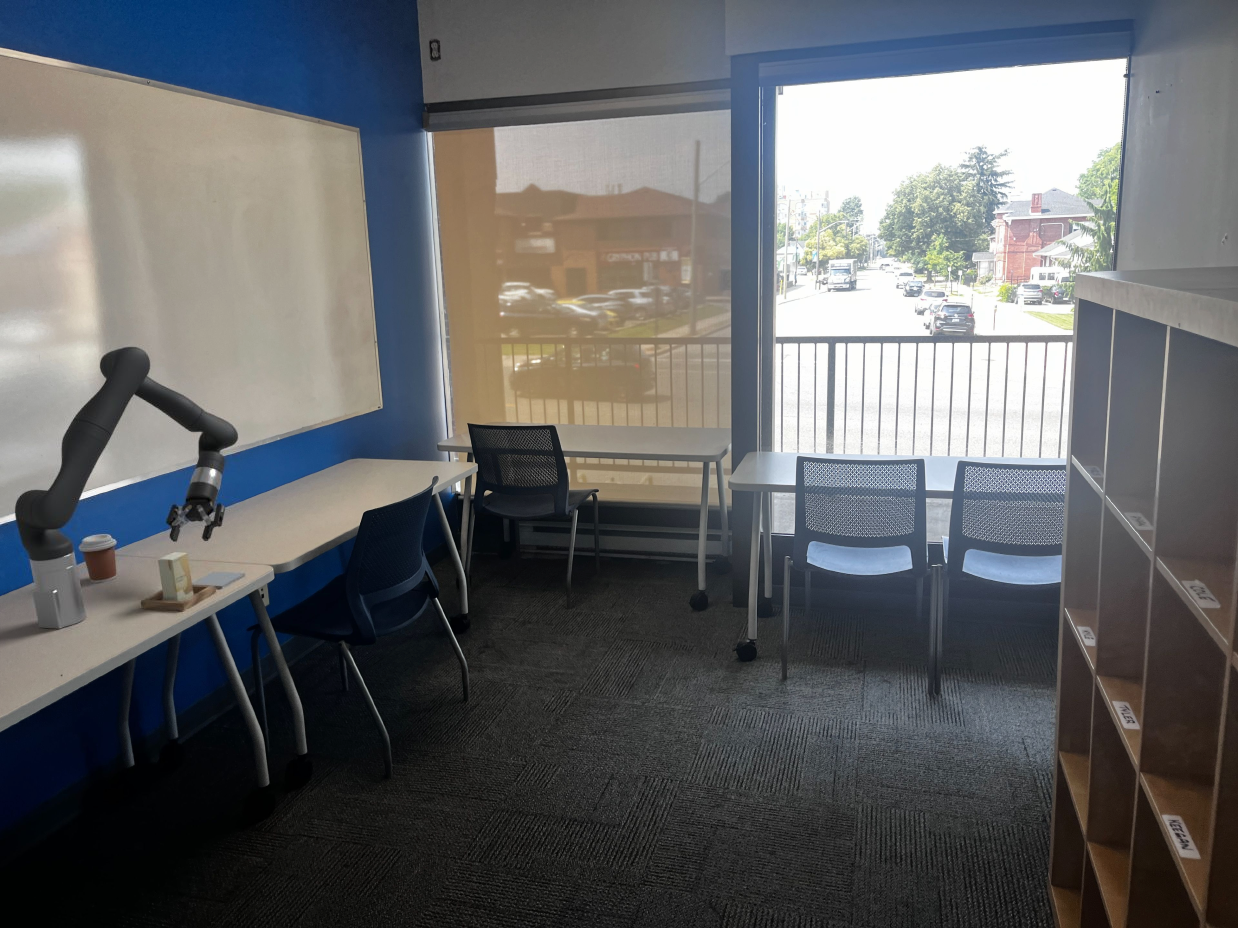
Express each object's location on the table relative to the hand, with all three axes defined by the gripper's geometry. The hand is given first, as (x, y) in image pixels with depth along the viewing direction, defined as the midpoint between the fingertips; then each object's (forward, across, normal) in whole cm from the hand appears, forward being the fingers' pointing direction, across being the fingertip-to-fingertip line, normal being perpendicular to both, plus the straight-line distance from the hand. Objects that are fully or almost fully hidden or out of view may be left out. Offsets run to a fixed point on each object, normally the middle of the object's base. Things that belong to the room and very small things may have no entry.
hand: (189, 540), depth 234 cm
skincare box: (+16, 0, +4) cm, 16 cm away
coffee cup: (+3, -31, +16) cm, 35 cm away
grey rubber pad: (+6, +4, +13) cm, 15 cm away
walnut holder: (+16, 0, +3) cm, 16 cm away
